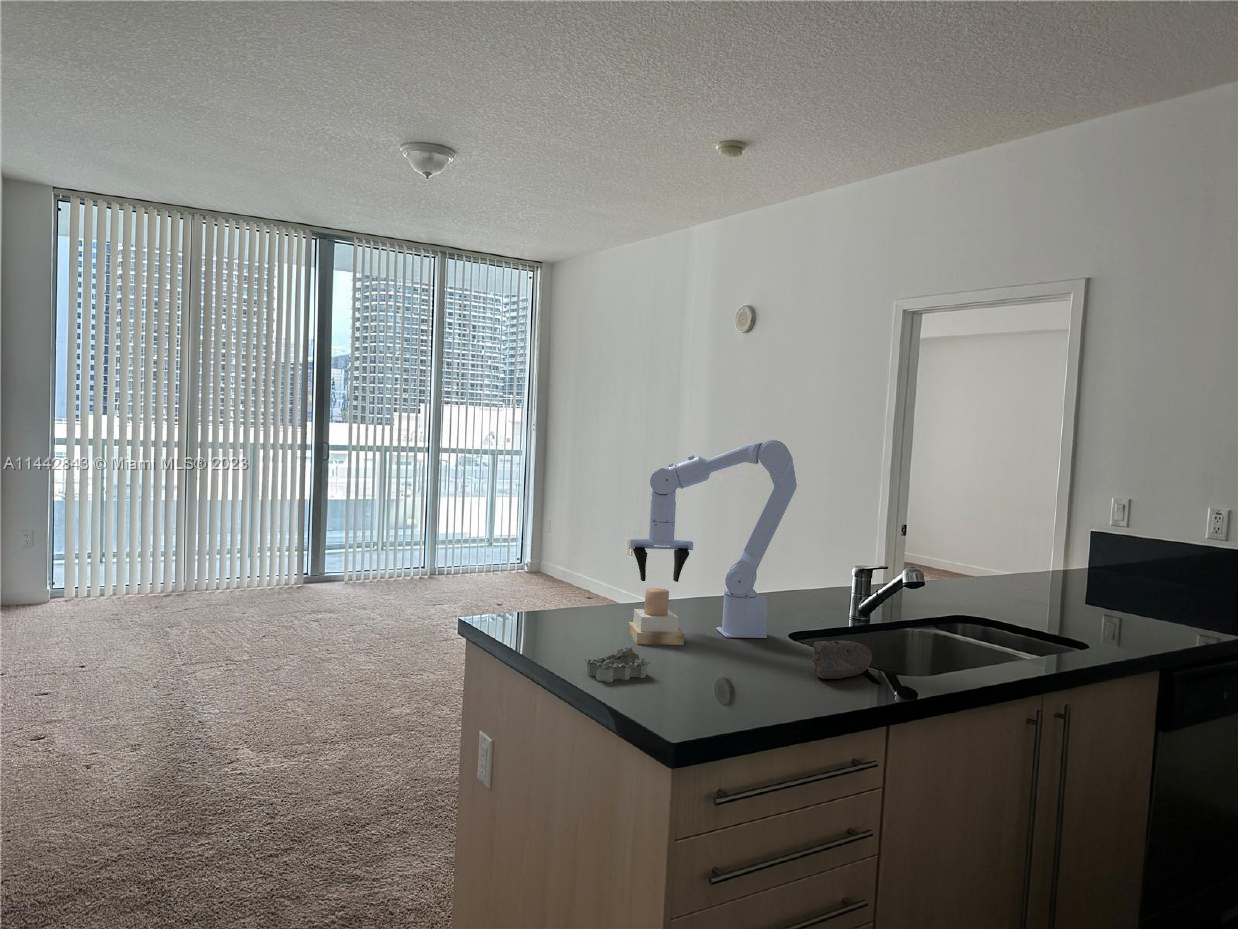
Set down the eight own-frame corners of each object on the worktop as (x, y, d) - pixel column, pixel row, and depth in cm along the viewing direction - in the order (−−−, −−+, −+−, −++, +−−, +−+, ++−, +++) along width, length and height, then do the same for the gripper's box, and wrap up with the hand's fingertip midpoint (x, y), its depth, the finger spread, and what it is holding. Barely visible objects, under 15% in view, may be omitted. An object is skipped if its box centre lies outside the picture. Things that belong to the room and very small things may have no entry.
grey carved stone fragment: (632, 668, 153) (633, 646, 153) (653, 679, 146) (654, 656, 146) (580, 673, 148) (582, 650, 148) (600, 684, 141) (601, 661, 141)
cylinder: (670, 613, 177) (672, 590, 176) (663, 617, 172) (664, 593, 172) (648, 610, 178) (650, 587, 178) (640, 614, 174) (642, 590, 174)
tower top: (669, 623, 180) (669, 609, 180) (678, 632, 172) (678, 617, 172) (633, 622, 179) (634, 609, 179) (640, 631, 171) (641, 617, 171)
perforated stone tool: (860, 669, 160) (862, 634, 159) (881, 677, 155) (883, 640, 155) (801, 676, 152) (803, 639, 152) (821, 684, 148) (823, 646, 148)
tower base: (672, 636, 181) (673, 622, 181) (683, 648, 172) (684, 633, 171) (627, 635, 180) (628, 621, 180) (636, 647, 170) (637, 632, 170)
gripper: (688, 520, 192) (685, 578, 192) (627, 518, 190) (625, 577, 190) (696, 523, 185) (693, 583, 186) (633, 521, 183) (630, 582, 183)
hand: (659, 580), depth 187 cm, fingers open, 7 cm apart
